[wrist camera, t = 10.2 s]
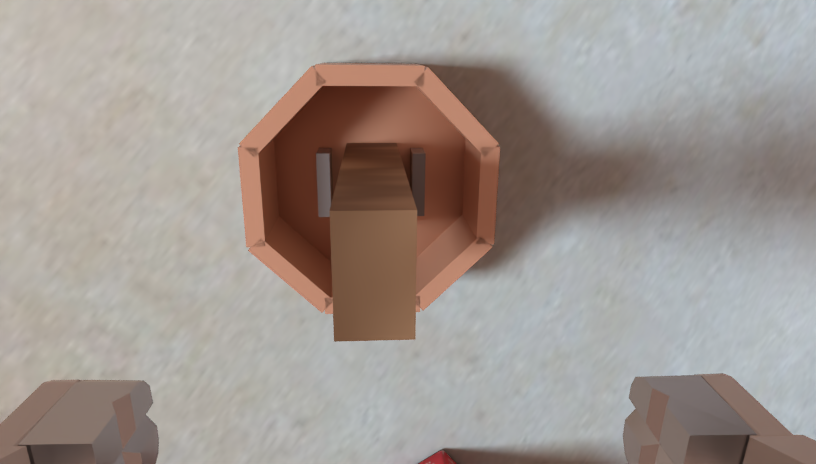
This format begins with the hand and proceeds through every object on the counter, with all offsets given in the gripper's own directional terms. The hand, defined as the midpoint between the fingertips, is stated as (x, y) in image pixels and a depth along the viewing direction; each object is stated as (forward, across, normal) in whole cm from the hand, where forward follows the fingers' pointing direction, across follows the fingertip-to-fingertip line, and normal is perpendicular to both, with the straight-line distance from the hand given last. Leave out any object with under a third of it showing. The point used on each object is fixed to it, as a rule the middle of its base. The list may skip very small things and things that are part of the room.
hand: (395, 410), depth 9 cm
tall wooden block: (+18, +1, +1) cm, 19 cm away
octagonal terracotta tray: (+19, +1, 0) cm, 19 cm away
